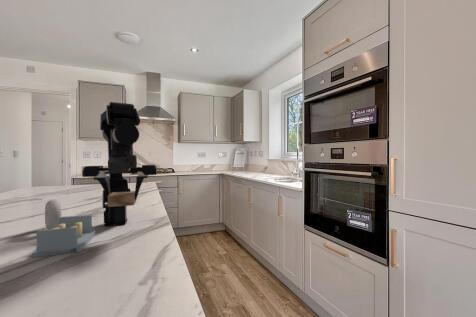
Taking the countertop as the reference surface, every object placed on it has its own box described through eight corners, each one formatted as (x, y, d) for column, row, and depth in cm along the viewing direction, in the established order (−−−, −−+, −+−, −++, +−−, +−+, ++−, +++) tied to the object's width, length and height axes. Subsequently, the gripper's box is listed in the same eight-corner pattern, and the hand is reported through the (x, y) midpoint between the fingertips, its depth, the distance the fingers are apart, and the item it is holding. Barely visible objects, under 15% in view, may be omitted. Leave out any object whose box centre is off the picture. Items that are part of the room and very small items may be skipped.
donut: (62, 232, 73) (62, 200, 73) (48, 235, 71) (48, 202, 70) (57, 226, 80) (56, 196, 80) (44, 228, 77) (43, 198, 77)
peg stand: (95, 233, 72) (95, 214, 71) (80, 251, 58) (80, 227, 58) (56, 237, 68) (56, 217, 68) (31, 257, 55) (31, 232, 55)
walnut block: (136, 200, 72) (136, 191, 72) (133, 205, 66) (133, 194, 66) (112, 202, 70) (112, 192, 70) (107, 206, 64) (107, 195, 64)
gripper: (75, 145, 57) (76, 208, 57) (155, 145, 63) (156, 203, 63) (87, 146, 68) (88, 200, 68) (156, 147, 74) (156, 196, 74)
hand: (122, 200), depth 68 cm, fingers closed on walnut block, 6 cm apart
